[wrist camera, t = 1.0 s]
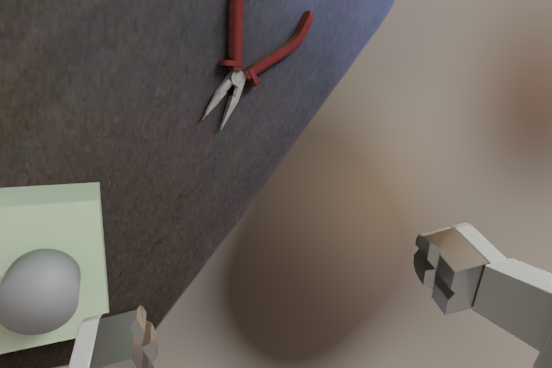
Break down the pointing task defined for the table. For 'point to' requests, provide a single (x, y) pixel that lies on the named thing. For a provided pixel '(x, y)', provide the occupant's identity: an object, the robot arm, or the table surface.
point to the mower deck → (61, 232)
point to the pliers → (249, 73)
